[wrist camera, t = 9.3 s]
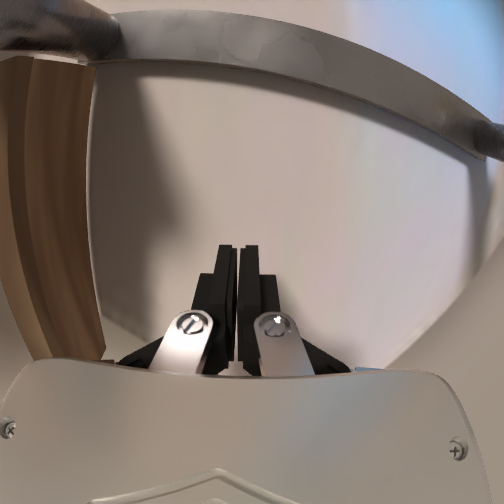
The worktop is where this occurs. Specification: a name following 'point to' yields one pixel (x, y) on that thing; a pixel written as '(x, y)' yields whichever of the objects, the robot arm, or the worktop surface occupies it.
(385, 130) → the worktop surface
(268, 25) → the gate frame
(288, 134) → the worktop surface
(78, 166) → the gate
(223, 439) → the robot arm
